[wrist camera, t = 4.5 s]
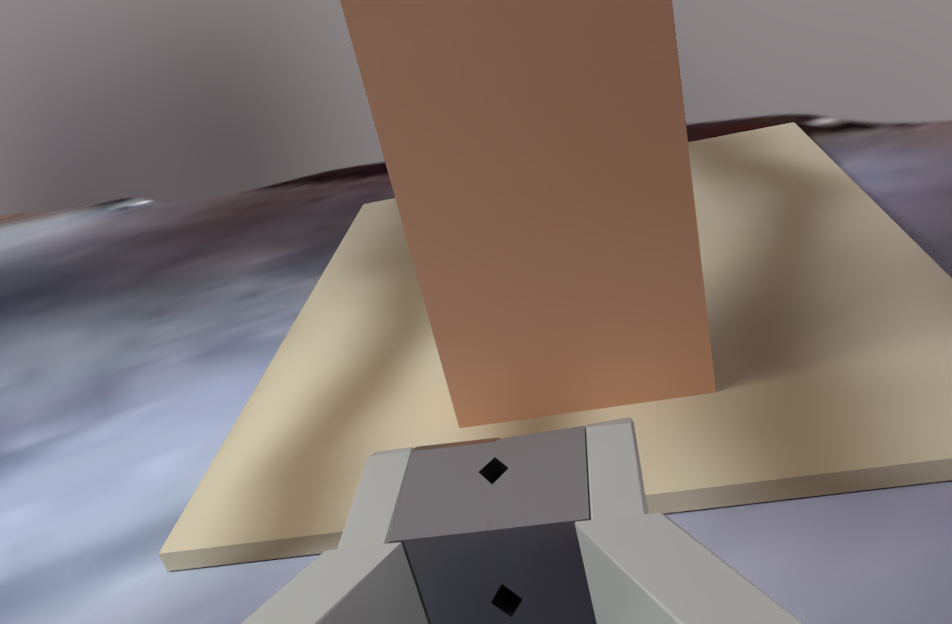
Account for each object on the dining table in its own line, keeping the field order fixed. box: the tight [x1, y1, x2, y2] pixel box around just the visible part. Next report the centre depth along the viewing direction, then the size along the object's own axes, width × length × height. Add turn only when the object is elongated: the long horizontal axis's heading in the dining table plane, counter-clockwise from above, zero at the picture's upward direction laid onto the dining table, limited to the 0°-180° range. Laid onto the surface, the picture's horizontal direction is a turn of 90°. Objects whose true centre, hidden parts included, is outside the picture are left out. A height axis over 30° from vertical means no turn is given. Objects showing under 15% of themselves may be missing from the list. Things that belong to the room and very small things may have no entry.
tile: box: [340, 0, 716, 428], centre depth 21 cm, size 7×3×14 cm, turn 85°
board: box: [159, 122, 952, 571], centre depth 31 cm, size 22×26×1 cm
